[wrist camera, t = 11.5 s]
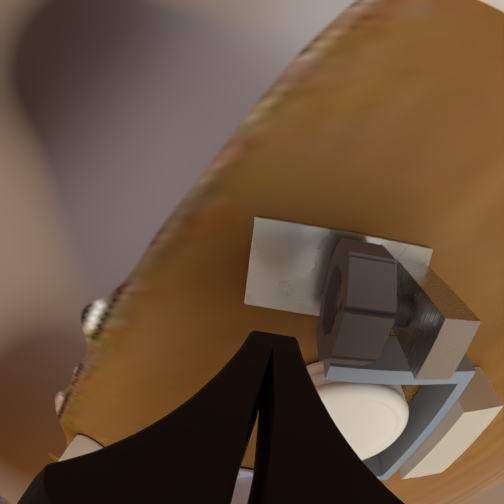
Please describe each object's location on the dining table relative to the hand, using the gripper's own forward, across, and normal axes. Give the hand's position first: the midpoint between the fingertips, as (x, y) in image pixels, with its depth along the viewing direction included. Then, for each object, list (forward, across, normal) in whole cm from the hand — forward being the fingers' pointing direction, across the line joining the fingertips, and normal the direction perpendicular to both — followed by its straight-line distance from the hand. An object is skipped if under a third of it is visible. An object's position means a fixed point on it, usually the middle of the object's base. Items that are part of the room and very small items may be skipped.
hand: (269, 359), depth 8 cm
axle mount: (+8, -3, 0) cm, 8 cm away
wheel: (+8, -3, 0) cm, 8 cm away
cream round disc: (+8, -6, +10) cm, 14 cm away
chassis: (+8, -10, +10) cm, 17 cm away
